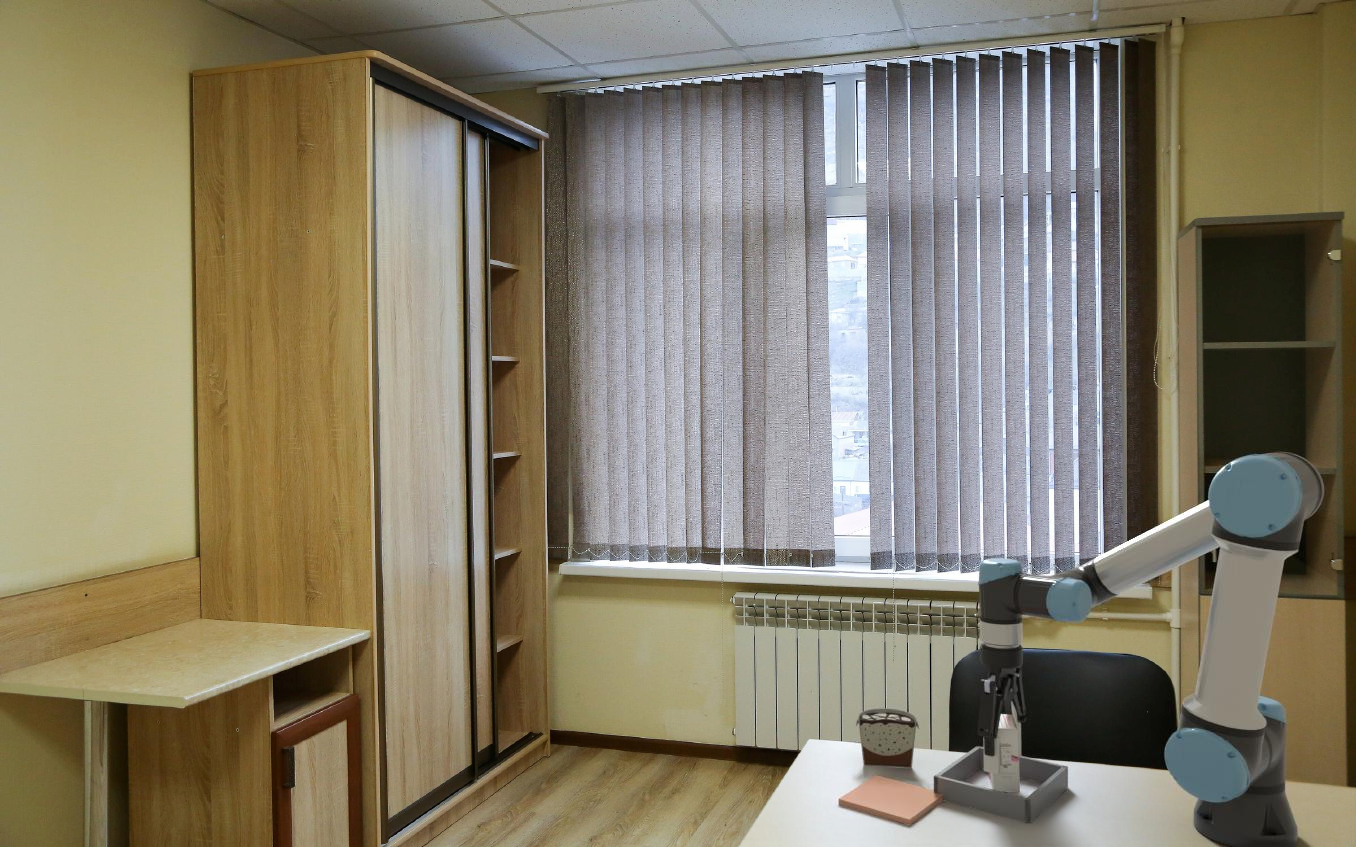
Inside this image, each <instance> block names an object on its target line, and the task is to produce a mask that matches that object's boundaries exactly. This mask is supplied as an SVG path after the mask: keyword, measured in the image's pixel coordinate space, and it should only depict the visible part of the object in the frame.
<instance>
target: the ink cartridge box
mask: <svg viewBox="0 0 1356 847" xmlns="http://www.w3.org/2000/svg"><path fill="white" fill-rule="evenodd" d="M1011 707H1012V715H1011V714H1006V713H1001V716H1000V721H999V727H998V733H997V737H999V742H1000V773H999V774H994V773H990V772H987V774H988V777H989V780H990V784H991V788H992V789H993V790H997V791H1001V792H1005V793H1009V792H1010V793H1020V792H1021V785H1020V784H1021V783H1020V781H1021V780H1020V779H1021V778H1020V775H1019V732H1018V722H1017V713H1016V710H1015V707H1014V704H1013V702H1012V701H1011Z"/></svg>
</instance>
